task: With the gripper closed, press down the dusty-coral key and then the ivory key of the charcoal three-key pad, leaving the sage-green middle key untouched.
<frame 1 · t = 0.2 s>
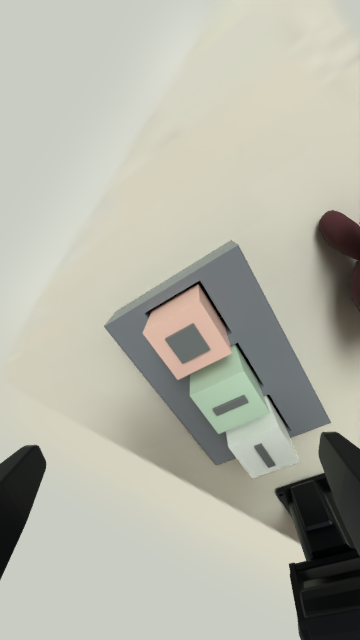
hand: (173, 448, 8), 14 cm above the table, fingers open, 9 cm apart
key coral: (188, 330, 17), point 4 cm above the table, slide at 0.0 cm
keypad: (220, 357, 22), on the table
key ivory: (258, 434, 20), point 4 cm above the table, slide at 0.0 cm
key sage: (226, 387, 19), point 4 cm above the table, slide at 0.0 cm
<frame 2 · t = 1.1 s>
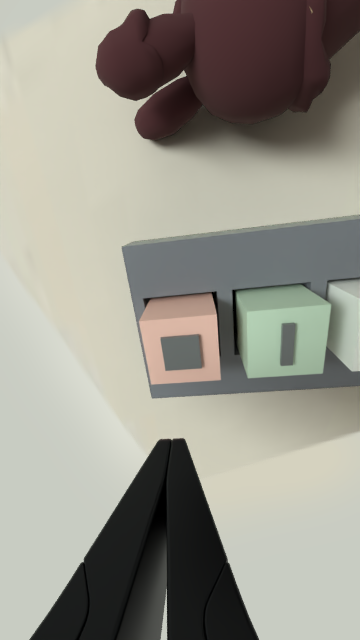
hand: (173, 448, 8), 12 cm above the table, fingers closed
key coral: (182, 336, 15), point 4 cm above the table, slide at 0.0 cm
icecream: (255, 63, 13), on the table
keypad: (258, 305, 18), on the table
key sage: (276, 329, 15), point 4 cm above the table, slide at 0.0 cm
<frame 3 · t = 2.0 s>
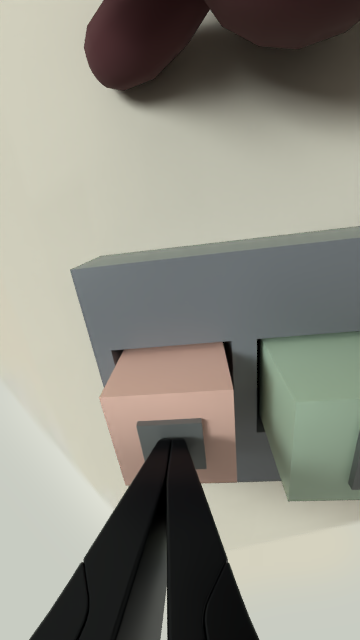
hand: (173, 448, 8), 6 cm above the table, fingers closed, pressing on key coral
key coral: (176, 404, 10), point 4 cm above the table, slide at 0.7 cm, touching gripper
keypad: (289, 348, 12), on the table
key sage: (332, 408, 9), point 4 cm above the table, slide at 0.0 cm
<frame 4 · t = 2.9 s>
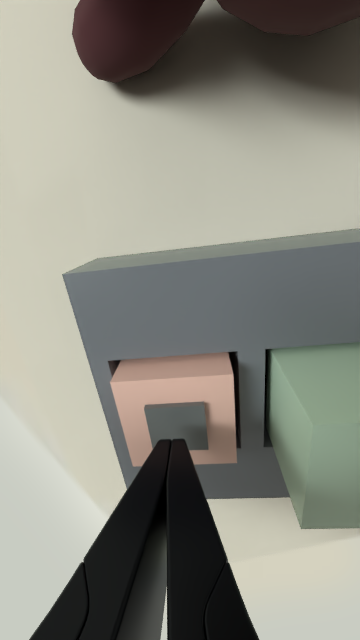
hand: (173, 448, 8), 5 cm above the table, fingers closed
key coral: (180, 391, 10), point 2 cm above the table, slide at 2.1 cm
keypad: (297, 356, 12), on the table
key sage: (348, 425, 8), point 4 cm above the table, slide at 0.0 cm
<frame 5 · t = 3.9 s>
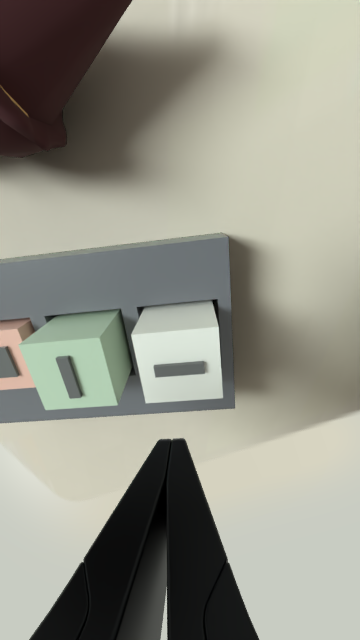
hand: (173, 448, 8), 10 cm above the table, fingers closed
key coral: (17, 347, 16), point 2 cm above the table, slide at 2.1 cm
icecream: (39, 93, 13), on the table
keypad: (107, 326, 18), on the table
key ivory: (180, 349, 14), point 4 cm above the table, slide at 0.0 cm
key sage: (84, 357, 14), point 4 cm above the table, slide at 0.0 cm
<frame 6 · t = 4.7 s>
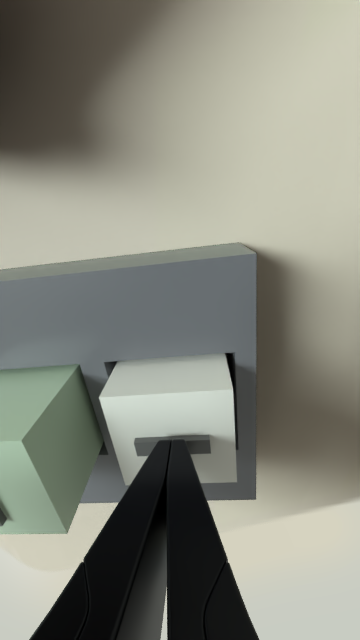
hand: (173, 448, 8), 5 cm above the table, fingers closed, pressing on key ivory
keypad: (73, 372, 13), on the table
key ivory: (176, 404, 10), point 3 cm above the table, slide at 1.5 cm, touching gripper
key sage: (21, 441, 9), point 4 cm above the table, slide at 0.0 cm
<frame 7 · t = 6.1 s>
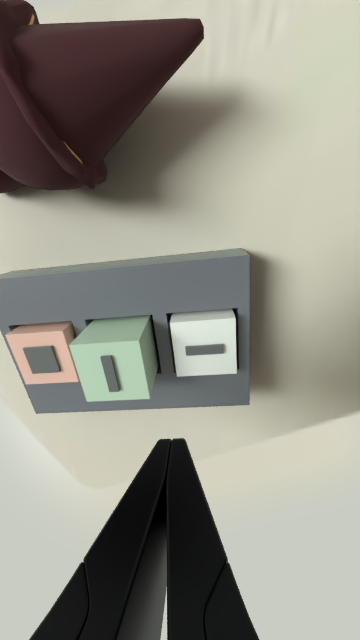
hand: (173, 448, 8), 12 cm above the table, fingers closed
key coral: (56, 346, 19), point 2 cm above the table, slide at 2.1 cm
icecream: (82, 132, 15), on the table
keypad: (134, 329, 20), on the table
key ivory: (203, 336, 18), point 2 cm above the table, slide at 2.1 cm
key sage: (119, 356, 16), point 4 cm above the table, slide at 0.0 cm
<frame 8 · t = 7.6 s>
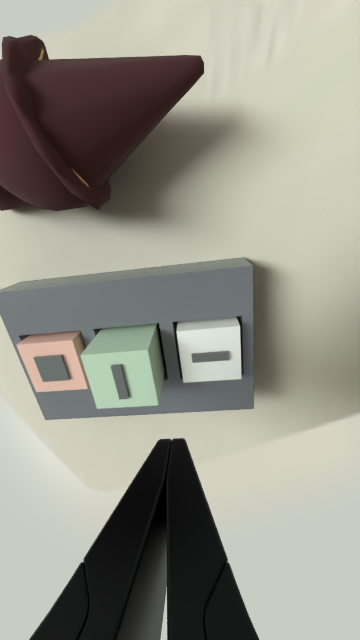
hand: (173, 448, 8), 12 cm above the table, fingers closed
key coral: (65, 354, 19), point 2 cm above the table, slide at 2.1 cm
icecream: (87, 152, 16), on the table
keypad: (140, 336, 20), on the table
key ivory: (208, 343, 18), point 2 cm above the table, slide at 2.1 cm
key sage: (128, 364, 17), point 4 cm above the table, slide at 0.0 cm
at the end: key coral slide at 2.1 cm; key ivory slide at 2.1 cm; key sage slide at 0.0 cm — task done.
